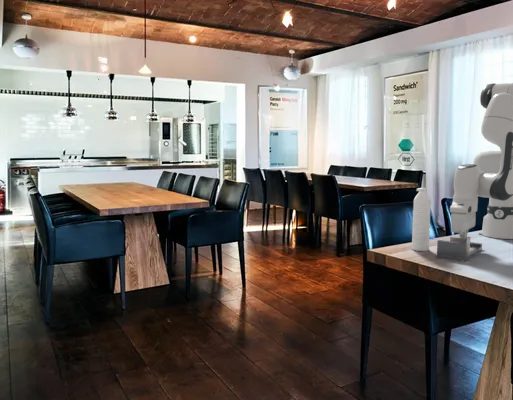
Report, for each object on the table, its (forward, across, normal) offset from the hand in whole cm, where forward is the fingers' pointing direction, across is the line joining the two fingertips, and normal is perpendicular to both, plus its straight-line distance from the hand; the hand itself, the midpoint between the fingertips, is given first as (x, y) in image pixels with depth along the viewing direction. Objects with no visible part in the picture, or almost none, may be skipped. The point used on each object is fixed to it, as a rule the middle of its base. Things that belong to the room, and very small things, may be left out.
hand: (463, 241), depth 179 cm
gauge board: (+4, +3, 0) cm, 5 cm away
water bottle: (+4, +8, -14) cm, 17 cm away
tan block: (+3, +4, 0) cm, 5 cm away
